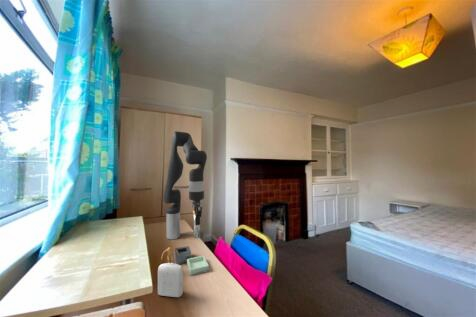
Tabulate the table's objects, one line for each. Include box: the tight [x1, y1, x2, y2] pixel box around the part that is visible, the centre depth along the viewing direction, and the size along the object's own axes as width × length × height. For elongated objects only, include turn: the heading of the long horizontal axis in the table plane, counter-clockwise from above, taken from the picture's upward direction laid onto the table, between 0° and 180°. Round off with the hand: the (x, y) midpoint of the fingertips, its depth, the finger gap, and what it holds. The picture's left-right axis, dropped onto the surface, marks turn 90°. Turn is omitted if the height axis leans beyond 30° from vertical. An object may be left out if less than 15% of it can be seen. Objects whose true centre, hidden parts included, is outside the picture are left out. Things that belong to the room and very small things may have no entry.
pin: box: [192, 209, 201, 239], centre depth 100 cm, size 4×4×13 cm
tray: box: [186, 255, 210, 276], centre depth 100 cm, size 11×9×2 cm
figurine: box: [160, 246, 179, 263], centre depth 96 cm, size 8×6×12 cm
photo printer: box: [157, 262, 184, 298], centre depth 81 cm, size 10×4×12 cm, turn 81°
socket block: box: [173, 245, 192, 265], centre depth 108 cm, size 8×8×5 cm
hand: (196, 223), depth 100 cm, fingers closed on pin, 3 cm apart
